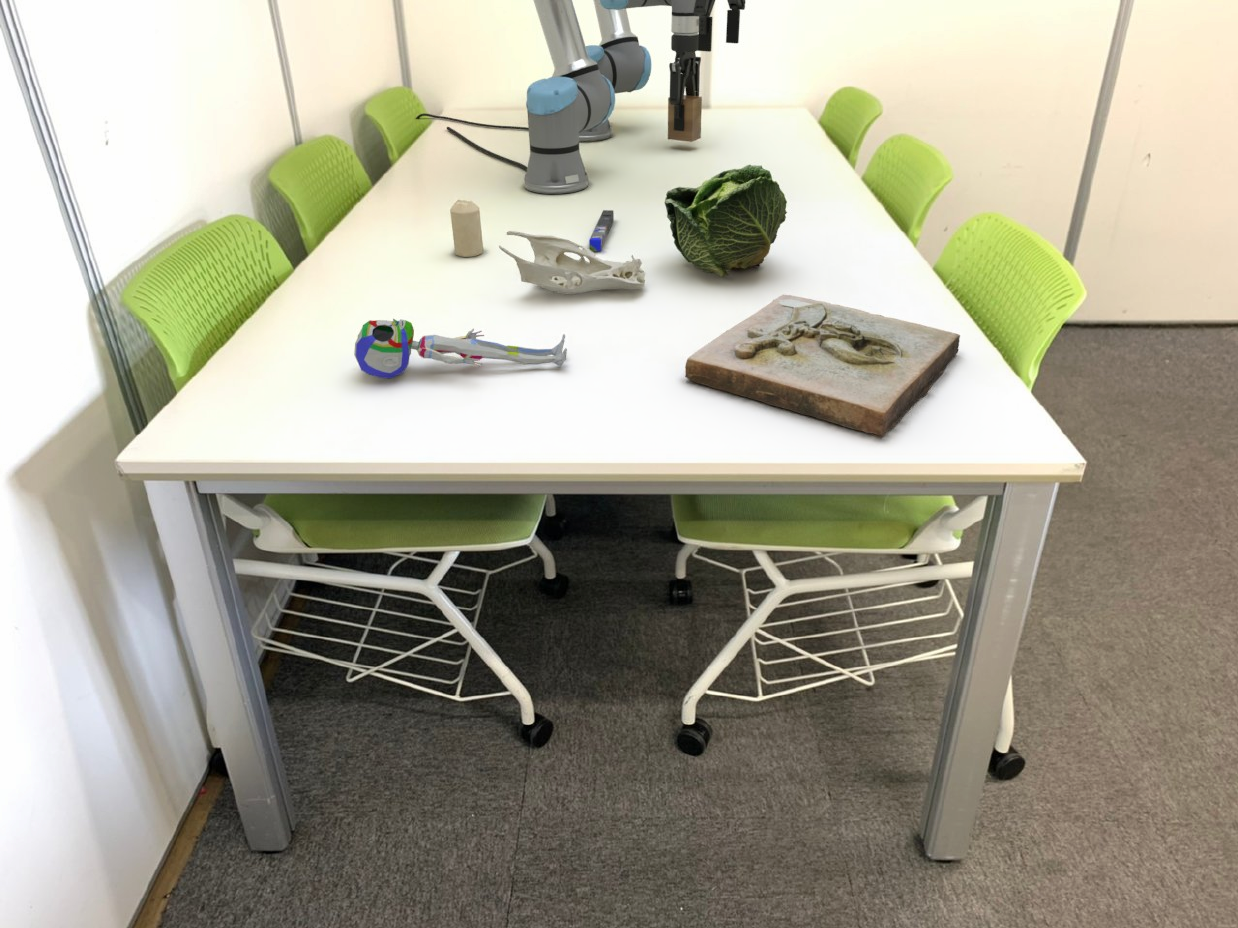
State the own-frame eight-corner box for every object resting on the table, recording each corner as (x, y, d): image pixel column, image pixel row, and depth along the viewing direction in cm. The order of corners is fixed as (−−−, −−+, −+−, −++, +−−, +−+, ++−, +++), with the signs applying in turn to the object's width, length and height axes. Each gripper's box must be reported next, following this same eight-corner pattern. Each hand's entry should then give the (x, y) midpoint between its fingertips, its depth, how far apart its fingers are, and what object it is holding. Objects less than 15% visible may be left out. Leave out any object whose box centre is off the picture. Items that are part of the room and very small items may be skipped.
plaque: (892, 390, 109) (684, 332, 124) (883, 441, 113) (682, 379, 127) (971, 312, 130) (784, 271, 145) (961, 357, 134) (780, 312, 148)
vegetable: (694, 294, 173) (643, 202, 166) (775, 239, 175) (728, 145, 167) (734, 307, 155) (678, 205, 147) (824, 245, 156) (773, 141, 149)
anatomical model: (512, 224, 162) (649, 224, 158) (517, 273, 167) (650, 274, 163) (490, 252, 149) (637, 253, 146) (496, 304, 154) (639, 306, 151)
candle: (488, 249, 176) (483, 198, 171) (475, 258, 172) (470, 206, 167) (463, 246, 178) (457, 196, 173) (450, 255, 174) (443, 204, 168)
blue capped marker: (613, 210, 190) (600, 241, 173) (613, 220, 191) (600, 251, 174) (603, 210, 190) (589, 240, 173) (603, 220, 191) (589, 251, 174)
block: (692, 142, 240) (693, 100, 235) (667, 139, 244) (668, 97, 238) (700, 138, 244) (702, 96, 239) (676, 135, 248) (677, 94, 242)
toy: (569, 347, 126) (349, 329, 122) (563, 400, 131) (350, 385, 126) (565, 318, 135) (359, 301, 130) (559, 369, 139) (360, 354, 134)
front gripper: (713, -65, 172) (708, 56, 183) (765, -69, 190) (758, 40, 201) (678, -65, 175) (676, 53, 187) (732, -69, 193) (727, 39, 204)
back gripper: (682, 38, 222) (680, 136, 234) (714, 30, 235) (711, 123, 247) (655, 37, 225) (655, 133, 238) (689, 29, 238) (687, 120, 251)
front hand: (718, 47), depth 194 cm, fingers open, 13 cm apart
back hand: (684, 128), depth 243 cm, fingers closed on block, 5 cm apart
